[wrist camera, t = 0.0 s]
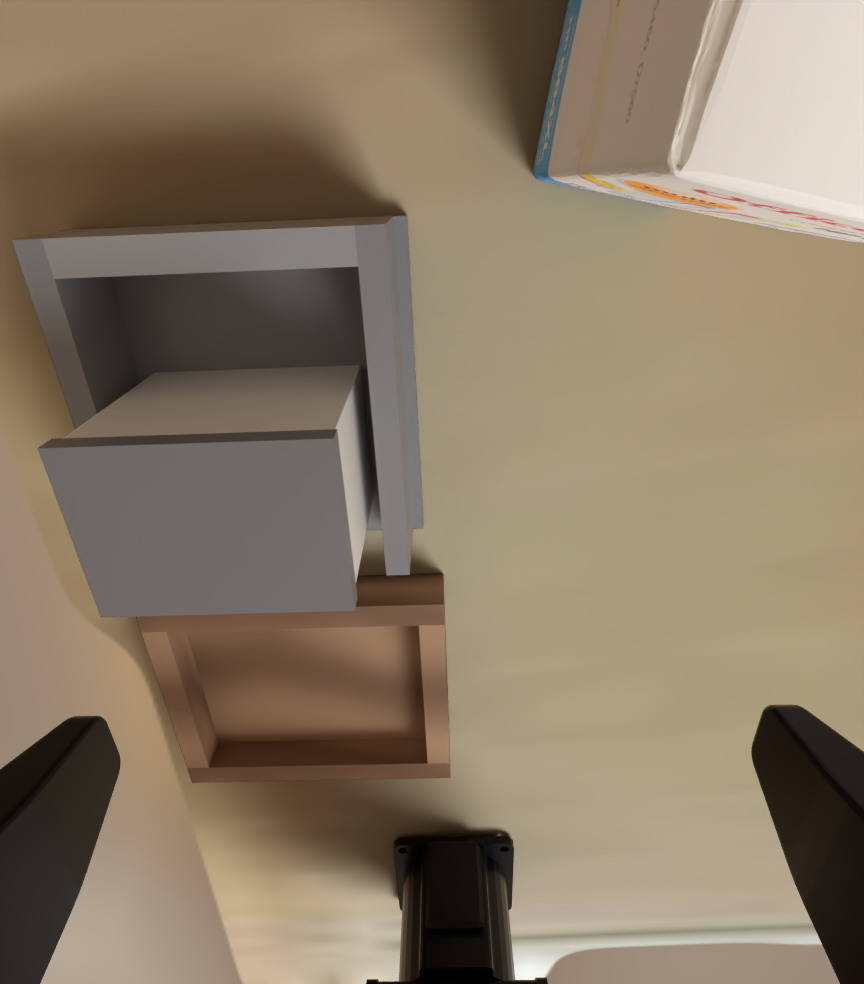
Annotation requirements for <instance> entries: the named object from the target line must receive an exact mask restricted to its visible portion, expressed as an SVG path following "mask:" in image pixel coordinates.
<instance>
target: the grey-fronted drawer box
mask: <svg viewBox="0 0 864 984" xmlns="http://www.w3.org/2000/svg"><path fill="white" fill-rule="evenodd" d="M38 451H39V453H40V456H41V459H42V461H43V464H44V467H45V469H46V472H47V475H48V477H49V480H50V483H51V485H52V488H53V491H54V493H55V496H56V499H57V501H58V504H59V507H60V509H61V512H62V515H63V517H64V520H65V523H66V525H67V528H68V531H69V533H70V536H71V539H72V541H73V544H74V547H75V549H76V552H77V555H78V557H79V560H80V563H81V565H82V568H83V571H84V573H85V576H86V579H87V581H88V584H89V587H90V589H91V592H92V595H93V597H94V600H95V603H96V605H97V608H98V611H99V613H100V616H101V617H135V616H174V615H213V614H252V613H291V612H329V611H355V608H356V603H357V589H356V581H357V576H358V571H359V566H360V561H361V556H362V551H363V546H364V541H365V536H366V531H367V526H368V520H369V515H370V510H371V505H372V500H373V487H372V476H371V466H370V455H369V445H368V435H367V424H366V414H365V403H364V393H363V383H362V372H361V365H347V366H320V367H292V368H265V369H237V370H210V371H182V372H155V373H154V374H152V375H151V376H150V377H148V378H147V379H145V380H144V381H143V382H141V383H140V384H138V385H137V386H136V387H134V388H133V389H131V390H130V391H128V392H127V393H126V394H124V395H123V396H121V397H120V398H119V399H117V400H116V401H114V402H113V403H112V404H110V405H109V406H107V407H106V408H105V409H103V410H102V411H100V412H99V413H98V414H96V415H95V416H93V417H92V418H90V419H89V420H88V421H86V422H85V423H83V424H82V425H81V426H79V427H78V428H76V429H75V430H74V431H72V432H71V433H69V434H68V435H67V436H65V437H64V438H60V439H51V440H49V441H48V442H46V443H45V444H43V445H42V446H40V447H39V448H38Z"/></svg>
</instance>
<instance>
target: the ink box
mask: <svg viewBox="0 0 864 984" xmlns="http://www.w3.org/2000/svg"><path fill="white" fill-rule="evenodd" d="M533 175H534V177H535V178H536V179H538V180H542V181H546V182H551V183H556V184H561V185H565V186H570V187H575V188H580V189H584V190H589V191H594V192H599V193H603V194H608V195H613V196H617V197H622V198H627V199H632V200H636V201H641V202H646V203H651V204H656V205H661V206H666V207H671V208H676V209H681V210H686V211H691V212H696V213H701V214H705V215H710V216H715V217H720V218H725V219H729V220H735V221H740V222H746V223H751V224H756V225H761V226H766V227H771V228H776V229H780V230H785V231H792V232H799V233H806V234H812V235H817V236H822V237H828V238H833V239H840V240H847V241H854V242H862V243H864V0H569V2H568V6H567V11H566V15H565V20H564V24H563V29H562V33H561V38H560V42H559V46H558V51H557V55H556V60H555V64H554V69H553V73H552V78H551V83H550V88H549V93H548V98H547V103H546V108H545V113H544V118H543V123H542V128H541V133H540V138H539V143H538V148H537V154H536V159H535V165H534V171H533Z"/></svg>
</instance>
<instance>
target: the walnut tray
mask: <svg viewBox="0 0 864 984" xmlns="http://www.w3.org/2000/svg"><path fill="white" fill-rule="evenodd" d="M356 589H357V603H356V608H355V611H329V612H291V613H252V614H213V615H174V616H136V619H137V622H138V625H139V628H140V631H141V634H142V636H143V639H144V642H145V645H146V648H147V651H148V654H149V657H150V660H151V663H152V666H153V669H154V672H155V675H156V678H157V681H158V684H159V686H160V689H161V692H162V695H163V698H164V701H165V704H166V707H167V710H168V713H169V716H170V719H171V722H172V725H173V728H174V731H175V733H176V736H177V739H178V742H179V745H180V748H181V751H182V754H183V757H184V760H185V763H186V766H187V769H188V772H189V775H190V778H191V781H192V783H195V782H249V781H303V780H358V779H412V778H450V740H449V714H448V687H447V660H446V634H445V607H444V580H443V574H419V575H382V576H357V581H356Z"/></svg>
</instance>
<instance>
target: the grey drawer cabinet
mask: <svg viewBox="0 0 864 984" xmlns="http://www.w3.org/2000/svg"><path fill="white" fill-rule="evenodd" d="M12 243H13V246H14V249H15V252H16V255H17V258H18V261H19V264H20V267H21V270H22V273H23V276H24V279H25V282H26V284H27V287H28V290H29V293H30V296H31V299H32V302H33V305H34V308H35V311H36V314H37V317H38V320H39V323H40V326H41V329H42V332H43V335H44V338H45V341H46V344H47V347H48V350H49V353H50V356H51V359H52V362H53V364H54V367H55V370H56V373H57V376H58V379H59V382H60V385H61V388H62V391H63V394H64V397H65V400H66V403H67V406H68V409H69V412H70V415H71V418H72V421H73V424H74V427H75V429H76V428H78V427H79V426H81V425H82V424H83V423H85V422H86V421H88V420H89V419H90V418H92V417H93V416H95V415H96V414H98V413H99V412H100V411H102V410H103V409H105V408H106V407H107V406H109V405H110V404H112V403H113V402H114V401H116V400H117V399H119V398H120V397H121V396H123V395H124V394H126V393H127V392H128V391H130V390H131V389H133V388H134V387H136V386H137V385H138V384H140V383H141V382H143V381H144V380H145V379H147V378H148V377H150V376H151V375H152V374H154V373H155V372H182V371H210V370H237V369H265V368H292V367H320V366H347V365H361V372H362V383H363V393H364V403H365V414H366V424H367V435H368V445H369V455H370V466H371V476H372V487H373V500H372V505H371V510H370V515H369V520H368V526H367V530H382V534H383V545H384V556H385V567H386V575H410V563H411V548H412V534H413V529H423V504H422V485H421V466H420V447H419V429H418V410H417V391H416V373H415V354H414V335H413V317H412V298H411V279H410V260H409V242H408V223H407V215H394V216H371V217H348V218H324V219H301V220H277V221H254V222H231V223H207V224H184V225H161V226H137V227H114V228H91V229H68V230H62V231H60V232H59V233H53V234H46V235H40V236H34V237H28V238H21V239H15V240H12Z"/></svg>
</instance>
